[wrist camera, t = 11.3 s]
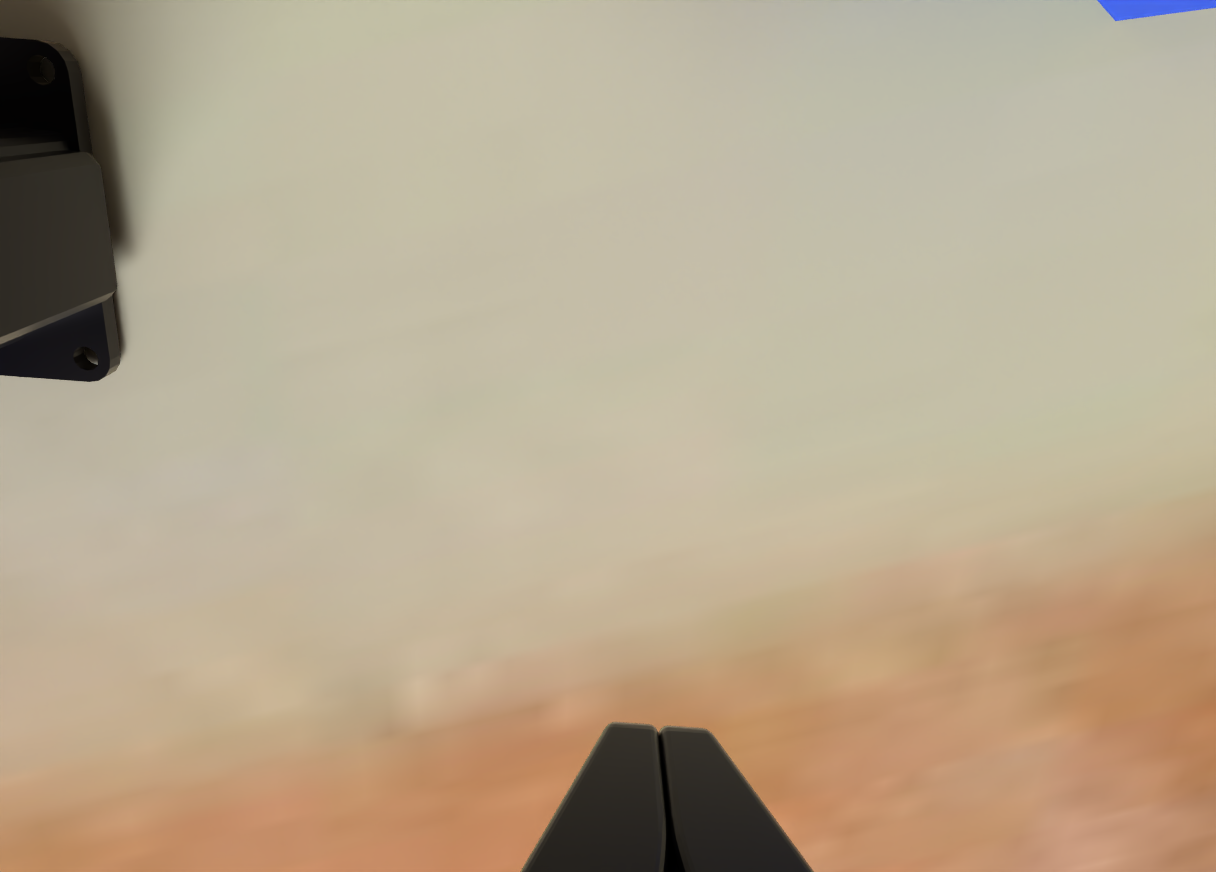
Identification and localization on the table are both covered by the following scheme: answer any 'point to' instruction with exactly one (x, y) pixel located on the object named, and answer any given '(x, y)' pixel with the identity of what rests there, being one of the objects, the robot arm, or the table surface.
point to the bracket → (1152, 7)
